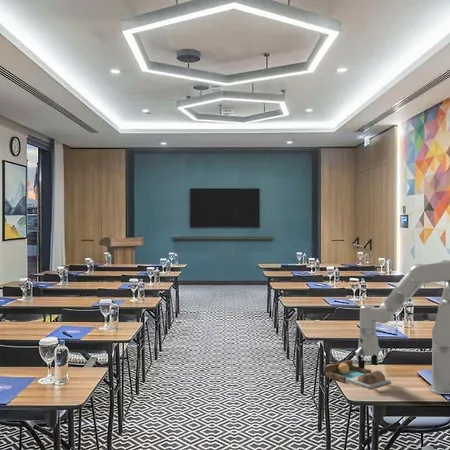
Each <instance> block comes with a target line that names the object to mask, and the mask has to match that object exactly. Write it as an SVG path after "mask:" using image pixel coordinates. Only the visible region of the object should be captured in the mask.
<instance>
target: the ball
mask: <svg viewBox="0 0 450 450" xmlns="http://www.w3.org/2000/svg"><path fill="white" fill-rule="evenodd" d="M338 370H339V372H340V373H341V374H347V373H348V372H349V366H348V365H347V364H345V363H341V364H340V365H339V367H338Z"/></svg>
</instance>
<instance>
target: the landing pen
mask: <svg viewBox="0 0 450 450" xmlns="http://www.w3.org/2000/svg"><path fill="white" fill-rule="evenodd" d="M341 363H345V364H347V365H348V366H349V370H353V371H356V372H360V373H363V374H368V373H371V372H372V370H371V369H369V368H364V369H362V368H359V367H358V365H354V364H353V359H349V360H344V361H340V362H335V363H332V364H328V365H325V366H323V376H324V377H325V378H328V379H331V380H335V381H338V382H341V383H346V377H344V376H341V375H337V373H340V372H339V370H338V367H339V365H340V364H341Z"/></svg>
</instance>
